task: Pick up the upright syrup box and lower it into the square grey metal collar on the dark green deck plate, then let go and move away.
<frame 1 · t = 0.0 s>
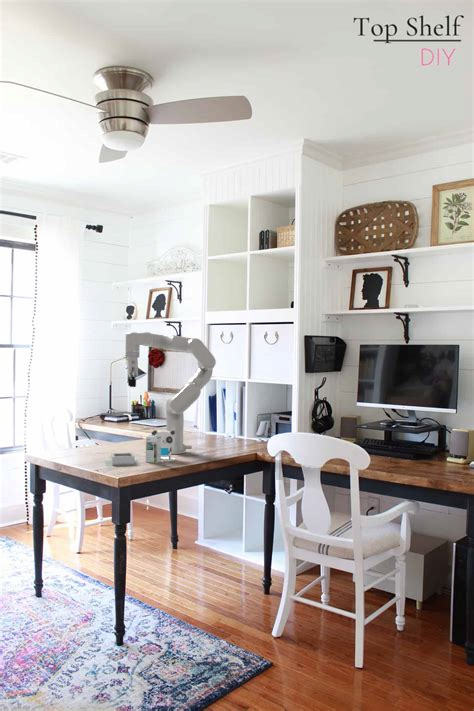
hand: (132, 386, 327), 37 cm above the table, tool pointing down, fingers open, 9 cm apart
chute collar: (122, 463, 292), resting on deck plate
panda figurine: (163, 459, 312), on the table
syrup box: (153, 465, 297), on the table
deck plate: (122, 466, 292), on the table
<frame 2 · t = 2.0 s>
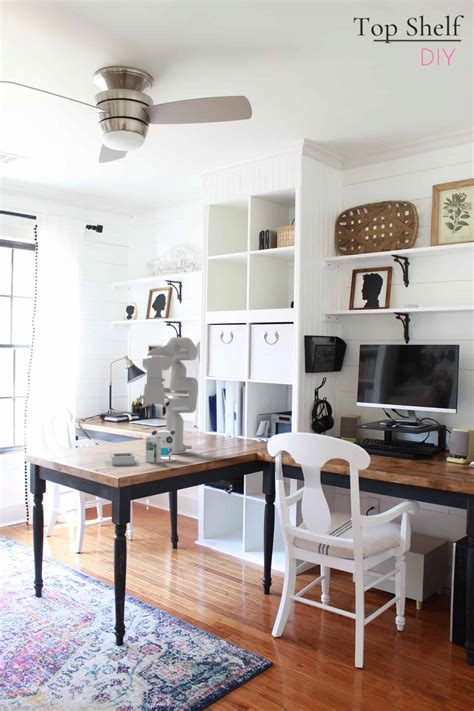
hand: (153, 415, 297), 24 cm above the table, tool pointing down, fingers open, 9 cm apart
nothing on the table moved.
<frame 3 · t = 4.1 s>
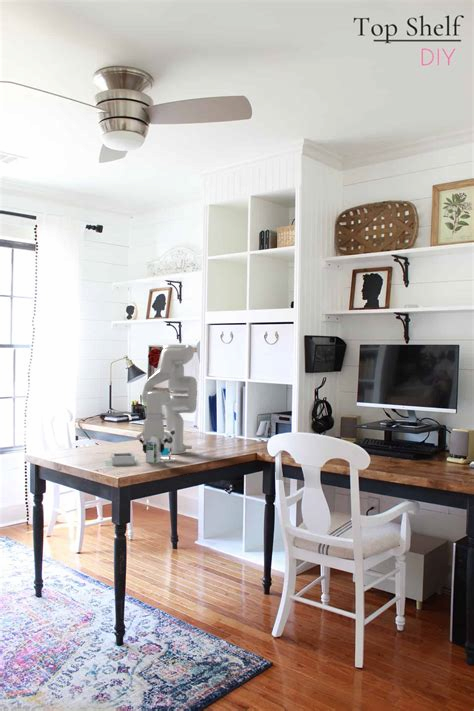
hand: (153, 452, 297), 6 cm above the table, tool pointing down, fingers closed on syrup box, 7 cm apart
syrup box: (153, 465, 297), on the table, touching gripper
everything else where it was.
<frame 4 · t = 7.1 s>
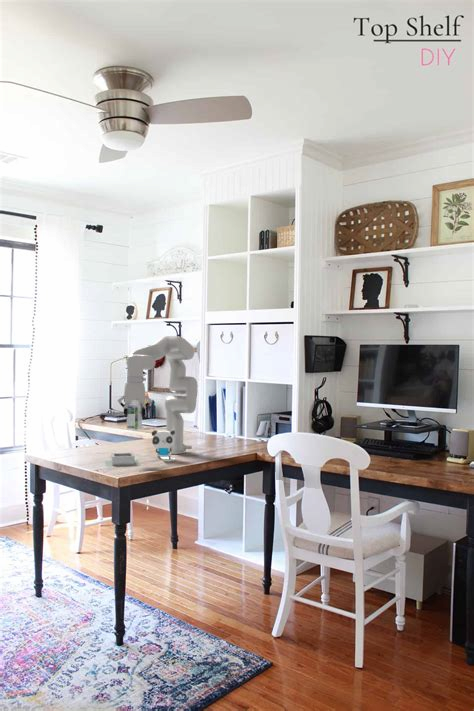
hand: (134, 416, 294), 24 cm above the table, tool pointing down, fingers closed on syrup box, 7 cm apart
syrup box: (134, 429, 294), point 18 cm above the table, touching gripper
everything else where it was.
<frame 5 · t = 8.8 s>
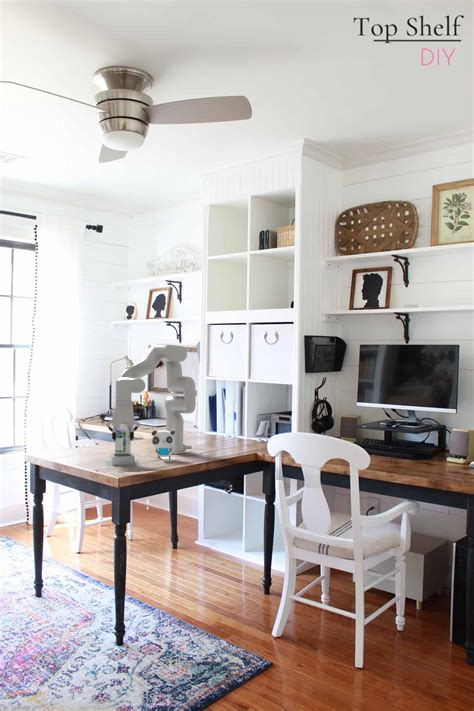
hand: (122, 440, 292), 13 cm above the table, tool pointing down, fingers closed on syrup box, 7 cm apart
syrup box: (122, 453, 292), point 6 cm above the table, touching gripper
everything else where it was.
when the fingers open (9 cm above the table, at t = 10.2 s): syrup box drops 1 cm, resting on deck plate.
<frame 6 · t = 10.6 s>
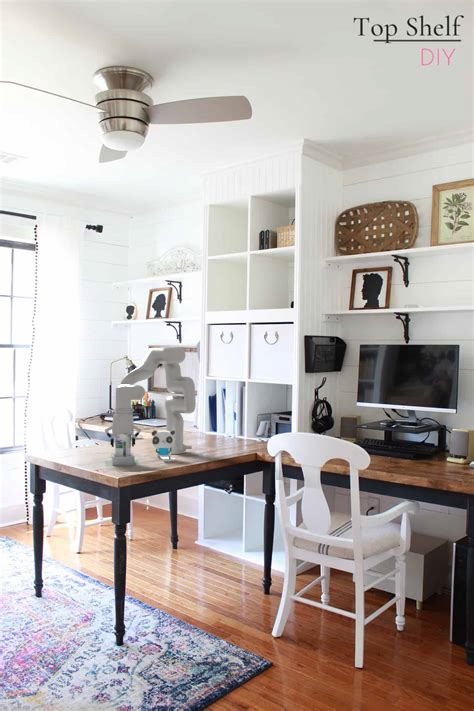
hand: (122, 446, 292), 10 cm above the table, tool pointing down, fingers open, 9 cm apart
syrup box: (122, 463, 292), point 1 cm above the table, touching deck plate
everything else where it was.
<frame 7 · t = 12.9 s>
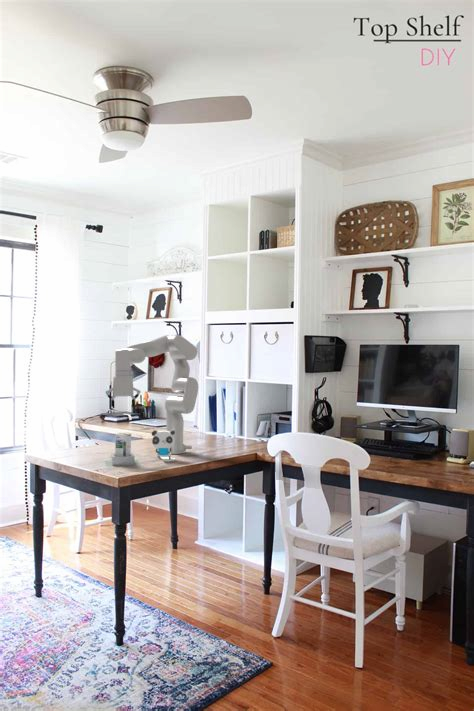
hand: (123, 407, 302), 27 cm above the table, tool pointing down, fingers open, 9 cm apart
nothing on the table moved.
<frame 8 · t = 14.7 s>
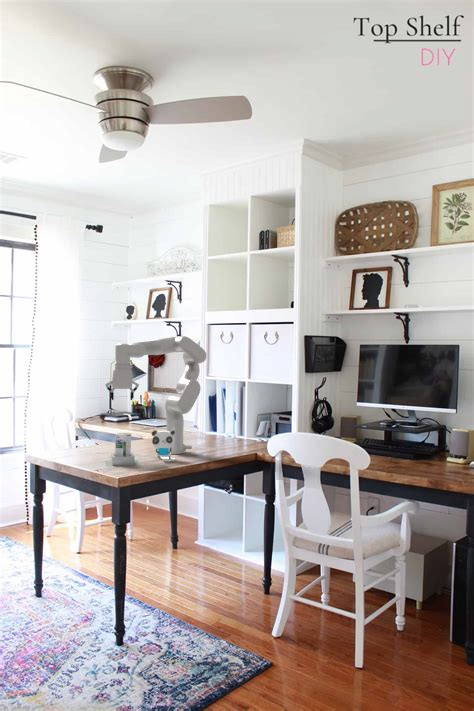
hand: (122, 400, 314), 30 cm above the table, tool pointing down, fingers open, 9 cm apart
nothing on the table moved.
at the end: syrup box 0.1 cm off-centre on the chute collar, point 0.0 cm above the chute collar's base; syrup box tilted 0°; the gripper is holding nothing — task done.
